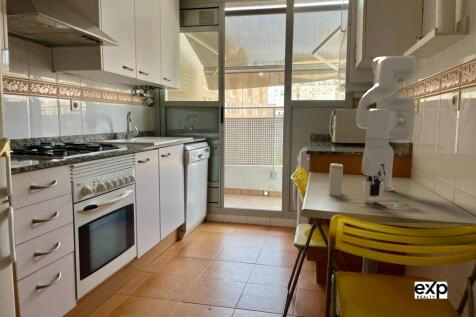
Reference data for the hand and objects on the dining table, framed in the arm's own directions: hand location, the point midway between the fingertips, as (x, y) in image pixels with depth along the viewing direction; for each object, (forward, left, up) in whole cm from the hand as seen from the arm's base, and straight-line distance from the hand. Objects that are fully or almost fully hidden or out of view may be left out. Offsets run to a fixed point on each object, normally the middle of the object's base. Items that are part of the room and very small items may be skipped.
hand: (372, 194), depth 131 cm
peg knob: (+4, 0, -3) cm, 5 cm away
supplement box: (-16, -8, -5) cm, 18 cm away
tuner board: (+2, +3, -4) cm, 6 cm away
